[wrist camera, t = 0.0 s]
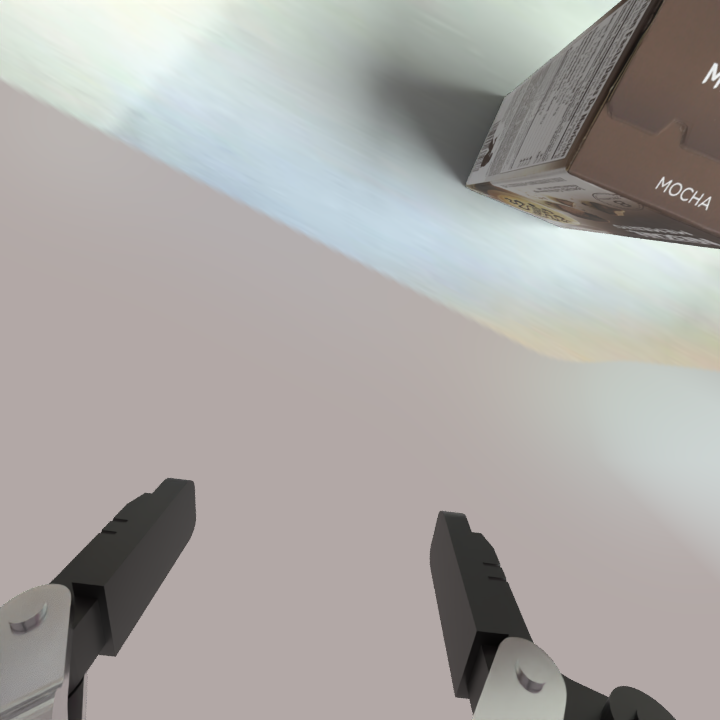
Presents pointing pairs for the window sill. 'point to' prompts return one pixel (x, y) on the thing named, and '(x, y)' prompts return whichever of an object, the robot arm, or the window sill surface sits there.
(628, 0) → the coffee box
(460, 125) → the window sill surface
